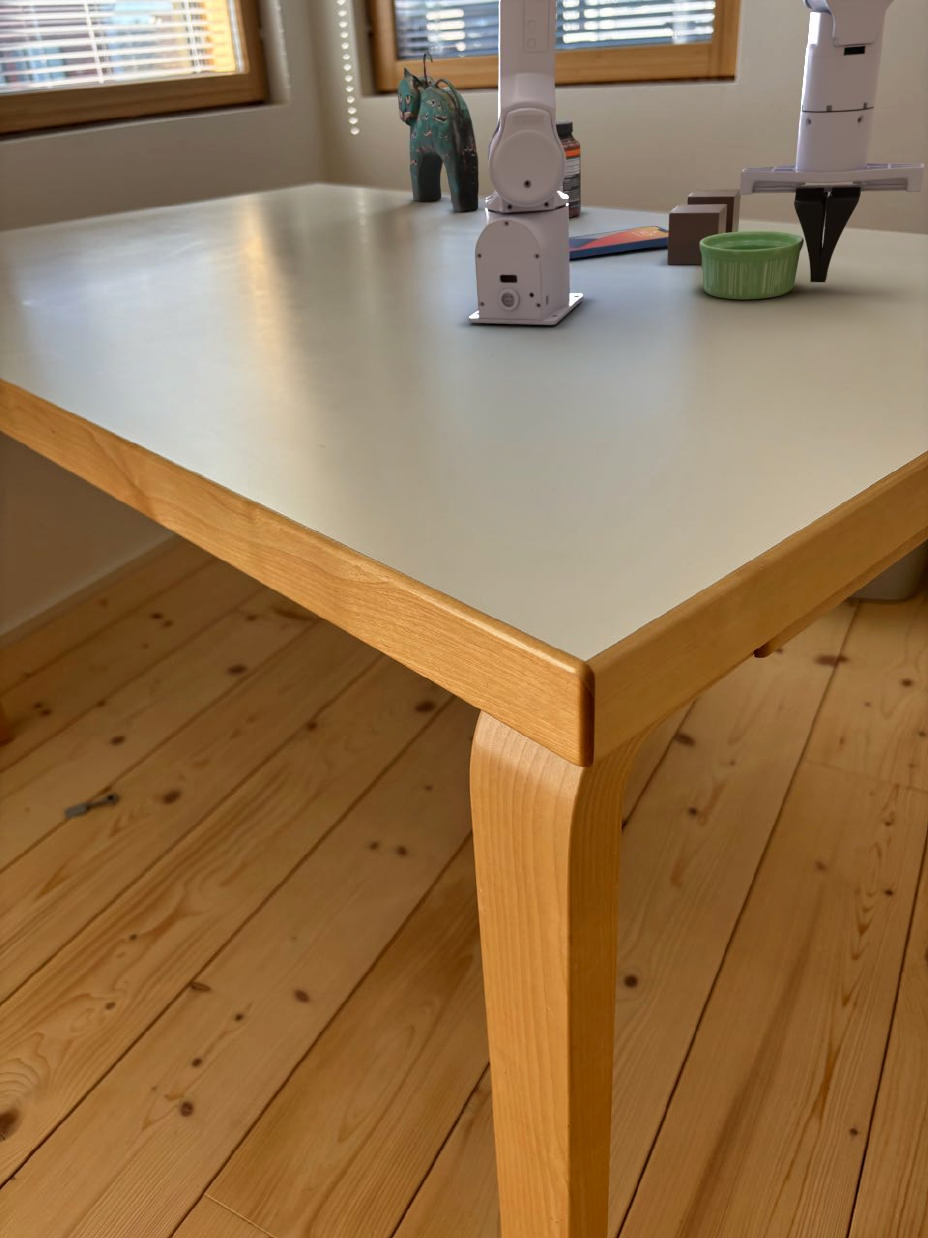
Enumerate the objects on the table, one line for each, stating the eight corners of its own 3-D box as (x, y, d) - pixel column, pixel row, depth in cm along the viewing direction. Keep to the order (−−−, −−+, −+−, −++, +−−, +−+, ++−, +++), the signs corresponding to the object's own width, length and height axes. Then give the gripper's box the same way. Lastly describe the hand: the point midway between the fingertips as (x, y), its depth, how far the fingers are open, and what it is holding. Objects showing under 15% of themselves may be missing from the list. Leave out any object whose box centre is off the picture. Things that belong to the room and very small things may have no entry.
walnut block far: (731, 245, 109) (734, 195, 106) (685, 245, 111) (687, 196, 108) (737, 236, 113) (741, 188, 110) (693, 236, 115) (695, 189, 112)
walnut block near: (716, 264, 101) (719, 212, 98) (667, 264, 103) (668, 212, 100) (724, 254, 105) (727, 203, 102) (676, 254, 107) (678, 204, 104)
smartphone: (531, 252, 113) (530, 242, 113) (654, 234, 116) (654, 224, 115) (551, 264, 107) (550, 253, 107) (681, 245, 110) (681, 234, 109)
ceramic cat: (402, 199, 156) (389, 52, 146) (440, 194, 158) (430, 49, 148) (452, 214, 140) (441, 51, 130) (493, 208, 142) (486, 47, 132)
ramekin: (805, 279, 93) (810, 230, 91) (791, 303, 86) (796, 250, 84) (708, 277, 96) (711, 229, 94) (687, 300, 89) (690, 249, 87)
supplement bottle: (528, 215, 134) (525, 122, 129) (566, 209, 136) (565, 118, 131) (549, 221, 130) (547, 124, 124) (589, 215, 132) (588, 119, 126)
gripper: (933, 100, 82) (907, 270, 89) (752, 108, 87) (741, 268, 94) (933, 108, 77) (906, 289, 84) (741, 116, 82) (730, 286, 89)
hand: (818, 279), depth 89 cm, fingers closed
